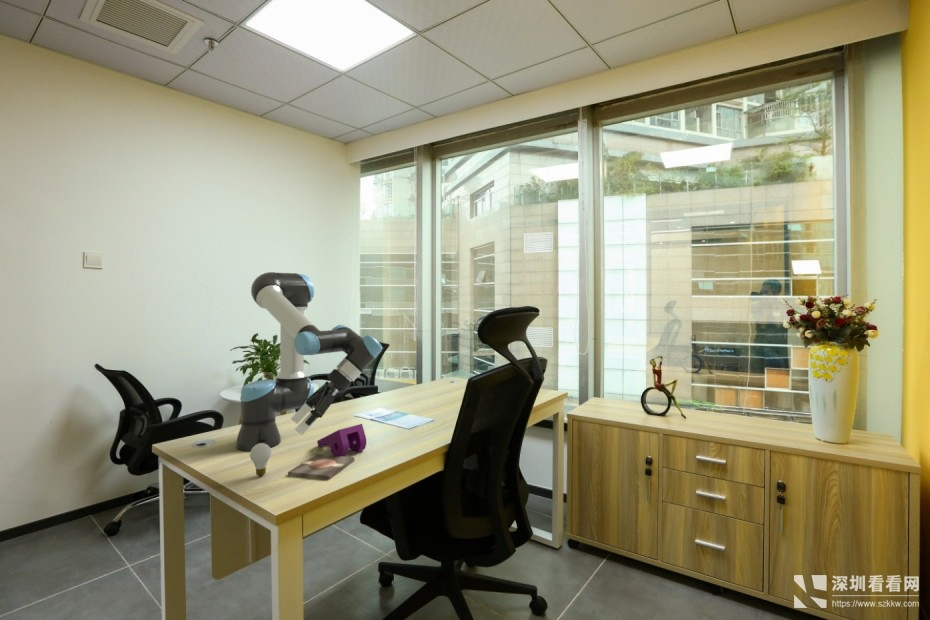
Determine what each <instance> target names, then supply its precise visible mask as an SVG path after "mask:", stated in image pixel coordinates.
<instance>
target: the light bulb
mask: <svg viewBox="0 0 930 620" xmlns="http://www.w3.org/2000/svg"><path fill="white" fill-rule="evenodd" d="M271 456H272V449H271V448H270V447H269V446H268V445H267V444H264V443H260V444H257V445H255V446H254V447H253V448H252V449H251V451H249V458H250V460H251V462H253V465H254V467H255V475H256V476H258V477H263V476H264V475H265V474H266V470H267V465H268V461H269V459H270V458H271Z"/></svg>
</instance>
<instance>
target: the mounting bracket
mask: <svg viewBox="0 0 930 620" xmlns="http://www.w3.org/2000/svg"><path fill="white" fill-rule="evenodd" d="M316 443H317V447H318V448H322V447H325V446H329V450H330V452H331V454H332V456H345V457H347V455H348V454H349V452H350V451H352V452H353V453H359V452H362V451H364V450H365V449H366V447H367V436H366V432H365V429H364V427H363V423H360V424H357V425H352V426H347V427H344V428H340V429H338V430H336V431H334V432H331V433H330V434H328V435H326V436H324V437H322V438H320V439H318V440H316Z"/></svg>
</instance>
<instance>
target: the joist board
mask: <svg viewBox="0 0 930 620" xmlns="http://www.w3.org/2000/svg"><path fill="white" fill-rule="evenodd" d="M354 462H355V457H354V456H333V454H332V455H330V454H320V453H319V454H315V455H313V456H312V457H310V458H308V459H306V460H304V461H303V462H301V463H299V465H297V466H295V467H294V468H292V469H290V470H289V471H288V472H287V476H288V477H297V478H307V479H317V480H327V481H330V480H331V479H332V478H334V477H335V476H337V475H338V474H340V473H341V471H343V470H344V469H345V468H347V467H348V466H350V465H351V464H352V463H354Z"/></svg>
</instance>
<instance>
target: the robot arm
mask: <svg viewBox="0 0 930 620" xmlns="http://www.w3.org/2000/svg"><path fill="white" fill-rule="evenodd" d="M250 290H251V291H250V293H251V296H252V299H253V301H254V302H255V304H256V305H258V306H259V308H262V309H264V310H266V311H267V312H268V313H270V315H272V317H273V318H274V319H275V320H276V321H277V322H278V323H279V324H280V325H279V326H280V329H279V330H280V343H279V344H280V365H279V367H280V372H279V373H278V374H277V375H276V377H275V378H276V379H275V380H274V379H262V380H254V381H251V382H249V383H246V384H245V385H244V386H242V387H241V391H240V397H239V400H240V421H241V422H240V423H241V425H240V428H239V432H238V434H237V439H236V441H235V448H236V449H237V450H239V451H244V452H247V451H249V452H251V449H252V448H253V447H254V446H255V445H257V444H260V443H264V444H267V445H268V446H269V447H270V449H271V448H274V447H276V446H277V445H278V446H279V444H281V442H282V441H281V438H282V437H281V434H280V431H279V428H278V425H277V422H276V414H278V413H284V412H286V411H291V410H297V411H296V412H295V413H294V415H293V416H292V417H290V420H291V421H293V422H294V423H295V424H297V427H295V429H294V431H296V432H297V433H298V434H299V435H301V436H303V435H304V434H305V433H306V431H307V430H309V428H310V427H311V426H312V425H313V424H314V423H315V422H316V421H317V419H319V418H320V419H322V417H323V416H324V415H325V413H326V412H327V411H328V409H329V407H330V406H331V405H332V404H333V402H334V401H335V399H337V397H338V396H339V395H340V394H341V392H340V391H339V389H340V390H341V391H343V392H346V390H347V389H348V388H349V387H350V386H351V385H352V382H355V381H356V380H357V379H358V378H361V374H362V373H363V372H364V370H365V369H366V368H367V367H368V366H369V365H370V364H372V362H374V360H376V358H377V357H378V356H379V354H381V352H382V350H383V346H382V344H381V343H380V342H379V341H378V340H377V339H376V338H375V337H374V336H372V335H371V334H366V335H365V336H363V337H362V336H361V335H359V334H358V333H356V332H355V331H354V330H353V329H351V328H350V327H348V326H347V325H344V324H338V325H336V326H334V327H333V328H332V329H331V330H330V329H329V330H319V329H318V327H316V326H315V324H314V323H312V321H310V320H309V319H308V318H307V316H305V315H304V312H305V311H306V310H307V309H308V306H309V305H308V304H309V303H310V302H312V301H313V298H314V296H315V287H314V284H313V281H312V280H311V279H310V277H309V276H308V275H306V274H303V273H295V272H294V273H293V272H291V273H290V272H275V271H269V272H268V271H267V272H264V273H262V274H260V275H259V276H257V277H256V278H255V279H254V280H253V282H252V284H251V287H250ZM340 352H343V353H344V354H346V356H345V357H344V358H342V360H341V361H340V362H339V363H338V364H337V365H336V368H334V369H333V370H332V371H331V372H330V373H329V374H328V375H327V379H328V380H329V381H330V382H329V381H328V380H326V381H325V382H324V383H323V384H322V385H321V386H320V387H319V388H318V389H316V390H315V388H314V387H315V386H314V384H313V382H312V380H311V378H309V376H308V375H309V374H307V373H306V371H304V365H305V364H304V363H305V362H304V356H315V355H323V354H331V353H340ZM275 381H276V382H275ZM308 413H309V414H308Z"/></svg>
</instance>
